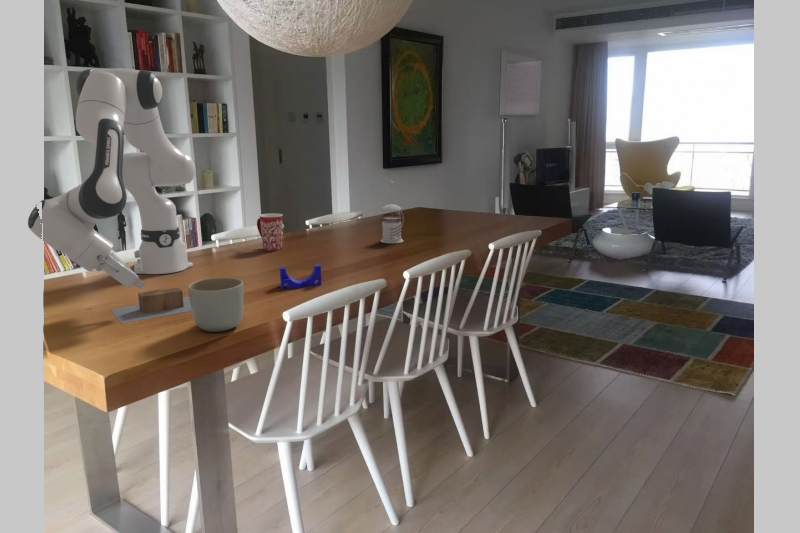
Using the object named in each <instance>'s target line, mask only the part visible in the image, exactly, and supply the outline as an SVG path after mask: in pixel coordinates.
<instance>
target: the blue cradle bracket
mask: <svg viewBox="0 0 800 533" xmlns="http://www.w3.org/2000/svg"><path fill="white" fill-rule="evenodd" d="M279 281H280V288H281V290H289V288H292V289H301V288H303V287H309V286H310V287H312V286H320V285H321V286H322V266H321V264H320V263H316V264H314V266H313V271H312V272H311V274H310V275H309V276H307V277H306V278H302V279H296V278H292V277H291V276H290V275H289V274H288V273H287V269H286V267H285V266H279Z"/></svg>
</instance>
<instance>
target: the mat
mask: <svg viewBox="0 0 800 533" xmlns="http://www.w3.org/2000/svg"><path fill="white" fill-rule="evenodd" d="M183 305H184V307H180V308H174V309H168V310H162V311H157V312H151V313H145V314H143V312H142V311H141V310H140V306H139V304H134V305H129V306H123V307H115V308H111V309H110V311H111V312H112V313H113V315H114V316H115V318H116V319H117V320H118V322H119V323H120V324H126V323H131V322H137V321H141V320H142V321H144V320H147V319H154V318H155V319H156V318H159V317H165V316H170V315H175V314H181V313H189V312H192V309H191V304H190V298H189V295H188V296H183Z"/></svg>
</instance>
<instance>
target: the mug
mask: <svg viewBox="0 0 800 533" xmlns="http://www.w3.org/2000/svg"><path fill="white" fill-rule="evenodd" d="M283 216H284V215H283V214H282V213H276V212H275V213H274V212H273V213H262V214H259V216H258V218H257V219H256V227H257V231H258V233H259V236H260V238H261V240H262V249H263V250H264V251H266V252H267V251H269V252H274V251H276V252H277V251H280V250H282V249H283Z"/></svg>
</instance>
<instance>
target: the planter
mask: <svg viewBox="0 0 800 533" xmlns="http://www.w3.org/2000/svg"><path fill="white" fill-rule="evenodd" d="M187 287H188V288H187V290H188V296H189V298H190V304H191V309H192V311H191V313H192V317H193V321H194V323H195V325H196V327H198V328H200V329H201V330H203V331H206V332H209V333H210V332H211V333H220V332H227V331H230V330H232V329H234V328H235V327H237V326H238V325H239V324H240V322H241V321H242V319H243V315H244V282H243V280H242V279H241V278H236V277H224V276H223V277H222V276H221V277H220V276H219V277H211V278H204V279H199V280H195V281H193V282H191V283H190V284H189V285H188V286H187Z"/></svg>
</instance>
